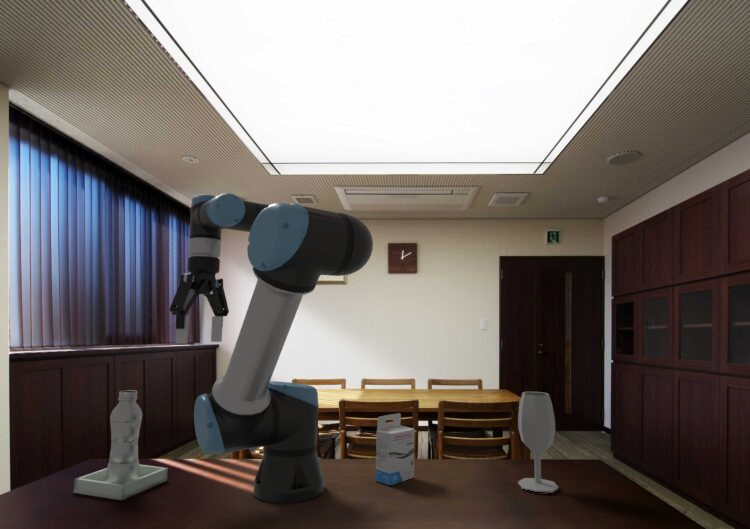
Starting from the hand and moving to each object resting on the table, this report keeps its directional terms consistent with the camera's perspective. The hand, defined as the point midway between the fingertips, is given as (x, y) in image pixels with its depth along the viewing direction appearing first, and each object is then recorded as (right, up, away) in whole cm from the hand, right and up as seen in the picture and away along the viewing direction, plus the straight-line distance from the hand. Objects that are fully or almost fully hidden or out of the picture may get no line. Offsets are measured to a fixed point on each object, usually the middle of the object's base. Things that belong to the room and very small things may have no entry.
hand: (199, 342), depth 117 cm
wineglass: (+80, -32, -9) cm, 87 cm away
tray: (-13, -30, -11) cm, 35 cm away
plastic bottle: (-13, -30, -11) cm, 34 cm away
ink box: (+48, -32, -5) cm, 58 cm away
